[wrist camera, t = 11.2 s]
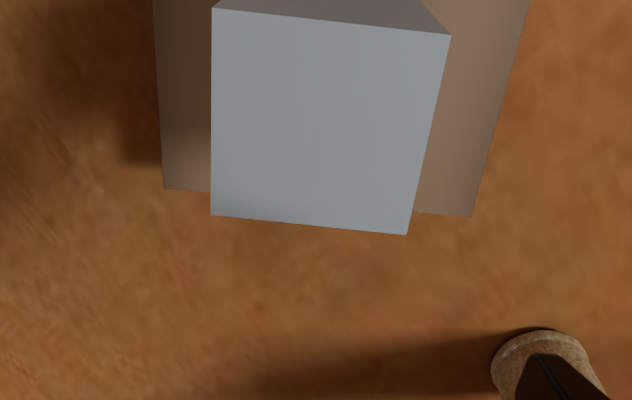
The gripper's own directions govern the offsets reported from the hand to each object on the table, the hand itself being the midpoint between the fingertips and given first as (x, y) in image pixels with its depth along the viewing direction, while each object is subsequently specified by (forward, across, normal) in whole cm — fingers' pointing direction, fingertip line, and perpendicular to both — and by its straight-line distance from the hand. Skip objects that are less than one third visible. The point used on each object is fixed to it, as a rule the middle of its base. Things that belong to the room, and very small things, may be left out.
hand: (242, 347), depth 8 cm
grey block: (+10, -1, -2) cm, 10 cm away
